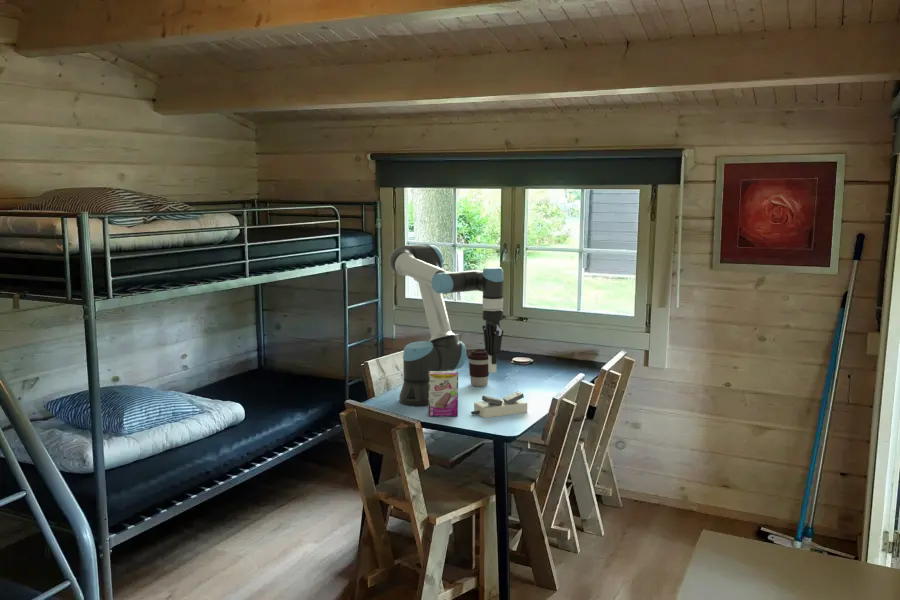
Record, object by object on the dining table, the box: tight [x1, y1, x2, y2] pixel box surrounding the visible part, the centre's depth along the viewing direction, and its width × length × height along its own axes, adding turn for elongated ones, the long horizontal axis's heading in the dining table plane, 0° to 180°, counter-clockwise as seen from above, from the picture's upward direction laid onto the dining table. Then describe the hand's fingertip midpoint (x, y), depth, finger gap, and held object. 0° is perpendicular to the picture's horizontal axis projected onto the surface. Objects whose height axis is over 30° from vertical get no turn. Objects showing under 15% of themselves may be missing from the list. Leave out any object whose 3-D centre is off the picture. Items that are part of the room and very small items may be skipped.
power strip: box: [470, 398, 528, 419], centre depth 277 cm, size 21×9×4 cm, turn 113°
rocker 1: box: [481, 395, 503, 405], centre depth 273 cm, size 7×4×2 cm, turn 113°
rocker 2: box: [502, 390, 525, 404], centre depth 277 cm, size 7×4×2 cm, turn 113°
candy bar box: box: [427, 370, 459, 417], centre depth 273 cm, size 11×5×16 cm, turn 92°
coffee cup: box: [467, 348, 490, 388], centre depth 316 cm, size 10×10×15 cm
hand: (492, 371), depth 272 cm, fingers closed
